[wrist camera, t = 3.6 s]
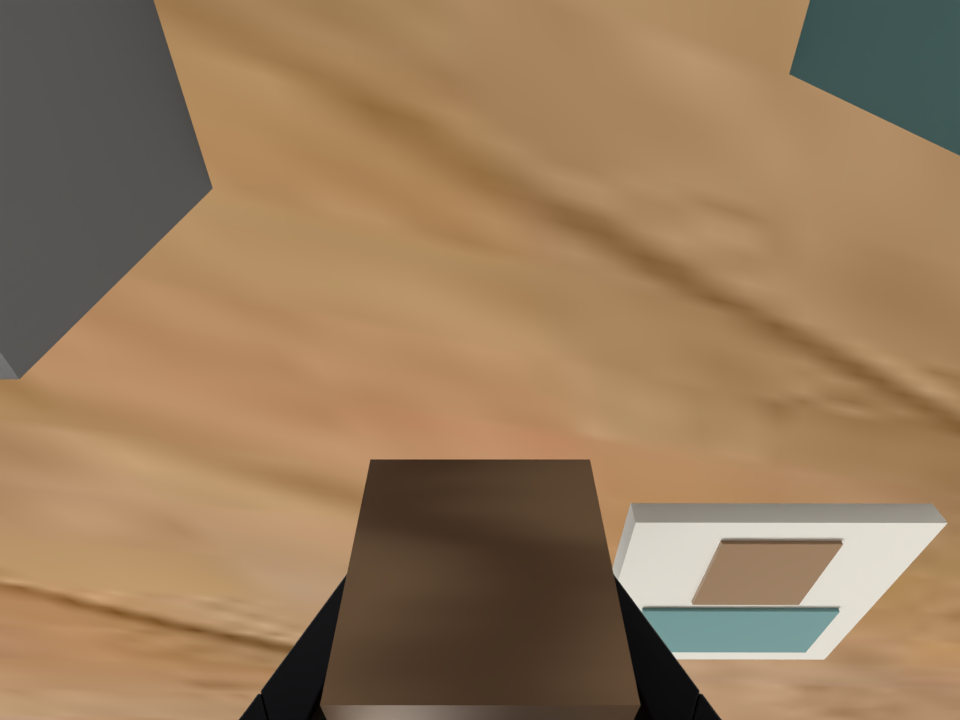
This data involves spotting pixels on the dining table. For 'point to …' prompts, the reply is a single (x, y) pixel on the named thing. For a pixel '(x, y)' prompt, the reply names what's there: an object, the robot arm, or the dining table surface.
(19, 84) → the slate grey block
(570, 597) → the walnut block
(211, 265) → the dining table surface
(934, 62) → the teal base block
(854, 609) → the tile
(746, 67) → the dining table surface
